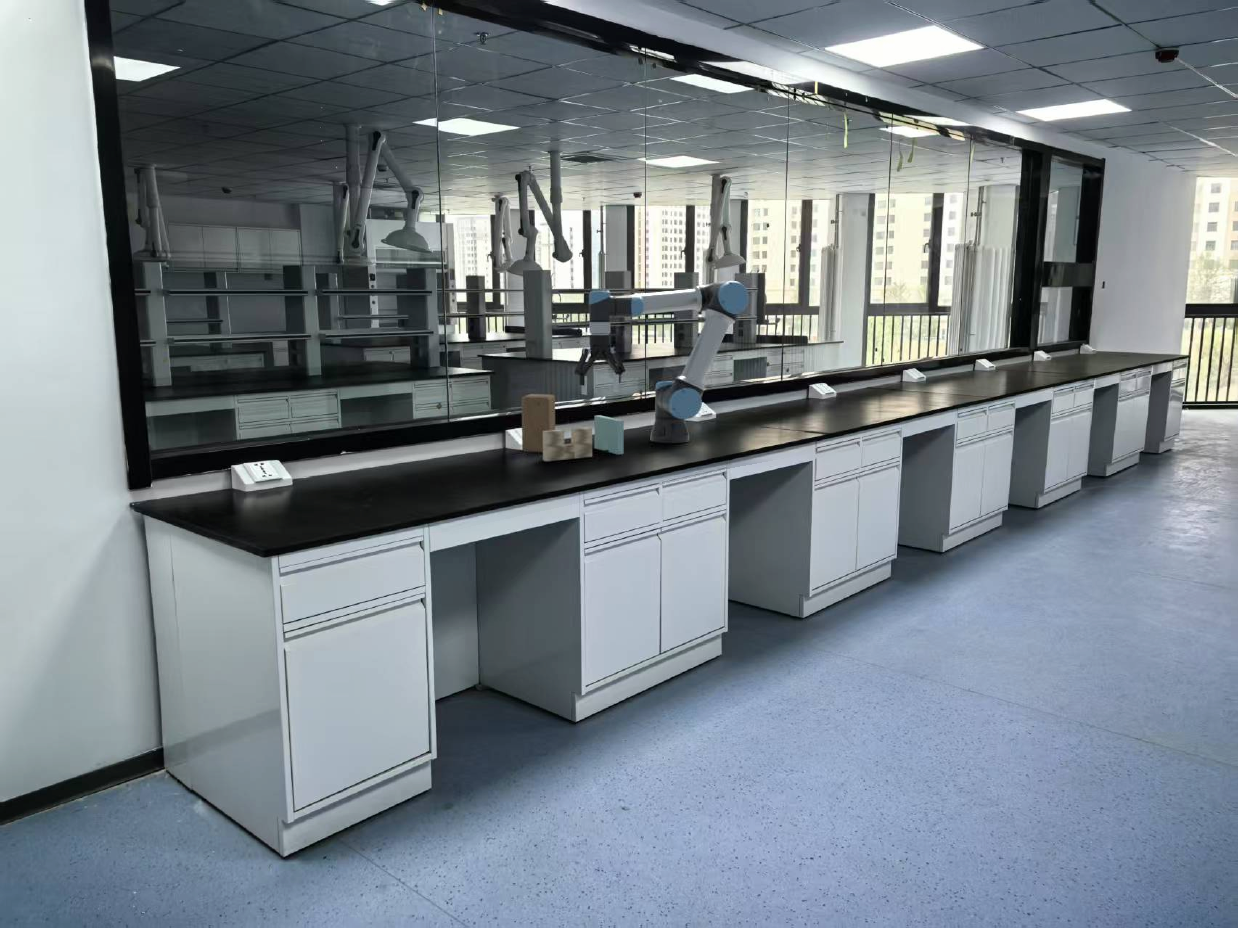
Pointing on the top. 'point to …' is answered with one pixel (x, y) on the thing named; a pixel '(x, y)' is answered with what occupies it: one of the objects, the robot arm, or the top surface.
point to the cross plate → (609, 434)
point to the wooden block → (536, 420)
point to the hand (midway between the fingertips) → (600, 393)
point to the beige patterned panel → (561, 451)
